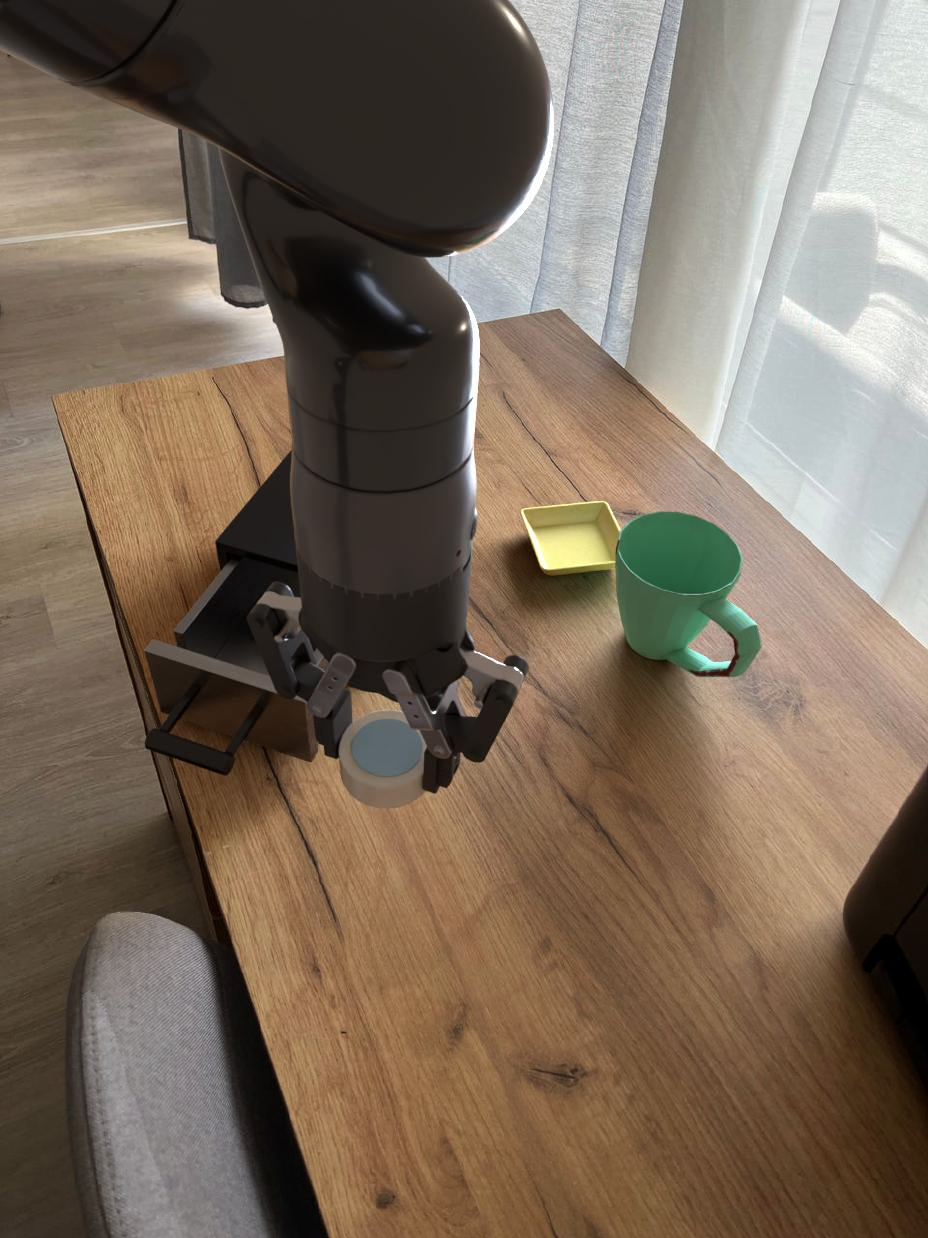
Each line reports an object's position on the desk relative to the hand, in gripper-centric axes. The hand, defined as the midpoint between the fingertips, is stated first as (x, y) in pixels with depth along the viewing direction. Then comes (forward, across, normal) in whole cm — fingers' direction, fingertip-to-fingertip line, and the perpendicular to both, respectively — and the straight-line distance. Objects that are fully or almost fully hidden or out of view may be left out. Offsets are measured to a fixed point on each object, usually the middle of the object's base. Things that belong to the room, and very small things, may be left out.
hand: (387, 761), depth 52 cm
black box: (+16, -16, +26) cm, 34 cm away
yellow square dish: (+16, +2, +38) cm, 42 cm away
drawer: (+15, -16, +11) cm, 24 cm away
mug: (+16, +13, +29) cm, 35 cm away
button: (+1, 0, 0) cm, 1 cm away
